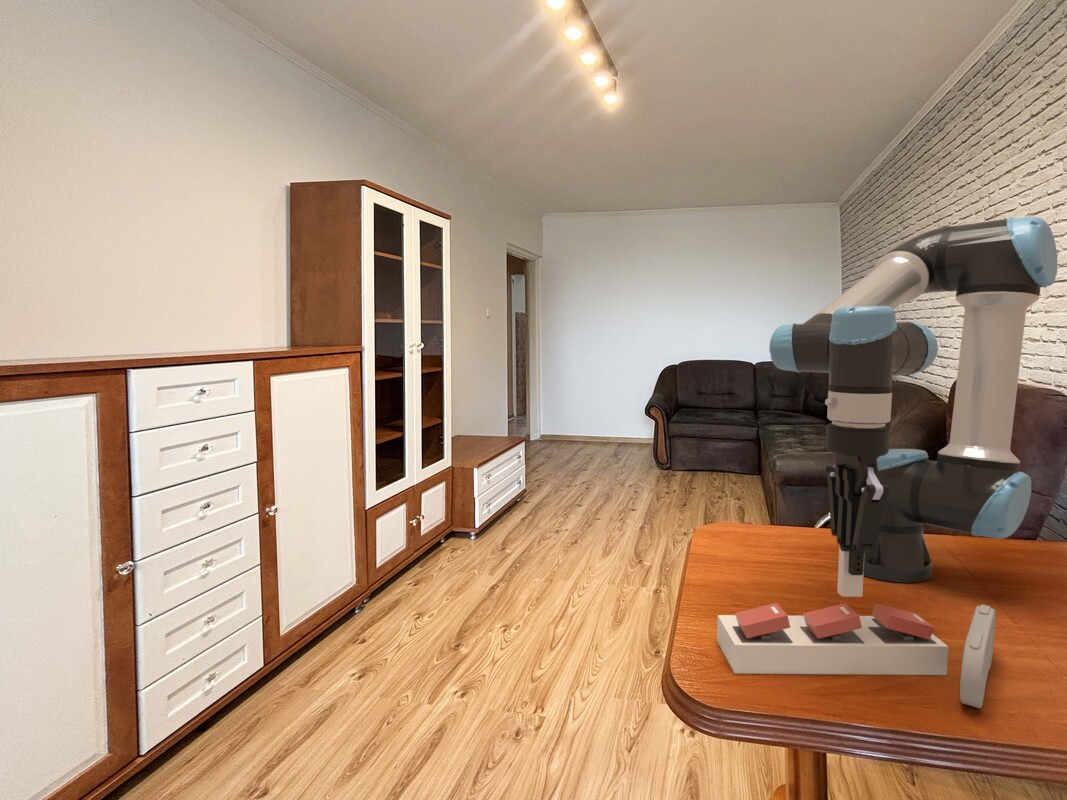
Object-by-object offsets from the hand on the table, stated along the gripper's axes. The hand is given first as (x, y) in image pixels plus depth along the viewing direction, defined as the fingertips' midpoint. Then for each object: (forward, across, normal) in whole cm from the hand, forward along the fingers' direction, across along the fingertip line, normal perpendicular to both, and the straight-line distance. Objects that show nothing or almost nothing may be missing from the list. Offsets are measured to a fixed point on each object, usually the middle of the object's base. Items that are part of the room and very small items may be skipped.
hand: (849, 594), depth 86 cm
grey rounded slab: (+10, +4, +15) cm, 19 cm away
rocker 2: (+4, 0, -2) cm, 4 cm away
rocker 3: (+4, 0, +7) cm, 8 cm away
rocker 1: (+4, 0, -12) cm, 12 cm away
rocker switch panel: (+10, -2, -2) cm, 10 cm away
